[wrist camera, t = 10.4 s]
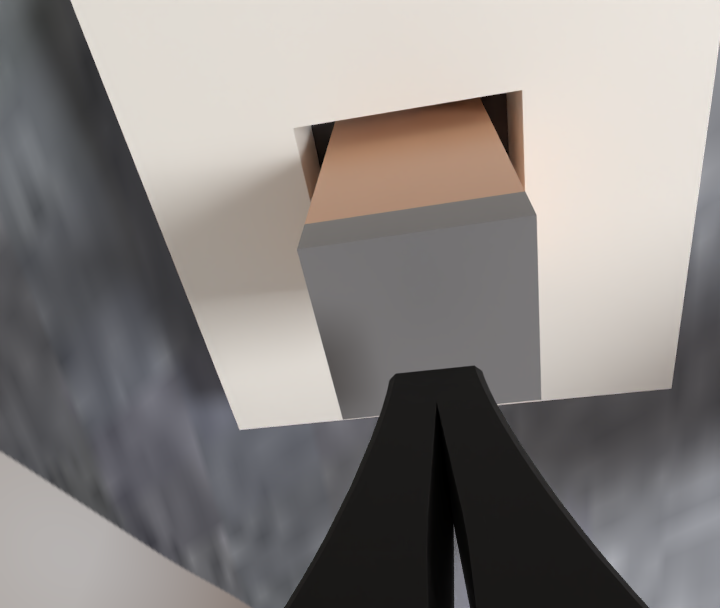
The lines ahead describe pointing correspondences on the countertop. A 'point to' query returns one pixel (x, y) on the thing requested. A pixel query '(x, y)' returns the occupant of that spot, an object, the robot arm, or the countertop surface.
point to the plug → (422, 255)
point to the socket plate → (405, 91)
